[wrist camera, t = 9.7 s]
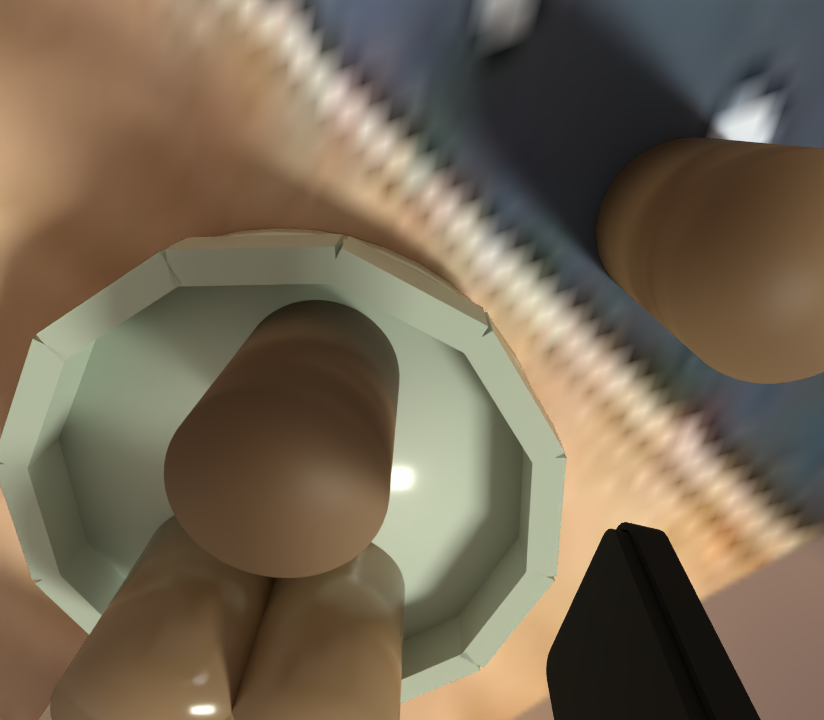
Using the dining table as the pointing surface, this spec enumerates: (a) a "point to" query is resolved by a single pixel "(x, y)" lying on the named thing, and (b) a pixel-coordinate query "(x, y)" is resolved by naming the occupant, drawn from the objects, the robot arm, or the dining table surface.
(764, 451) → the dining table surface
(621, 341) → the dining table surface
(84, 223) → the dining table surface
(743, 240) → the bead
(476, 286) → the dining table surface
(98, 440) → the tray
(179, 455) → the bead
